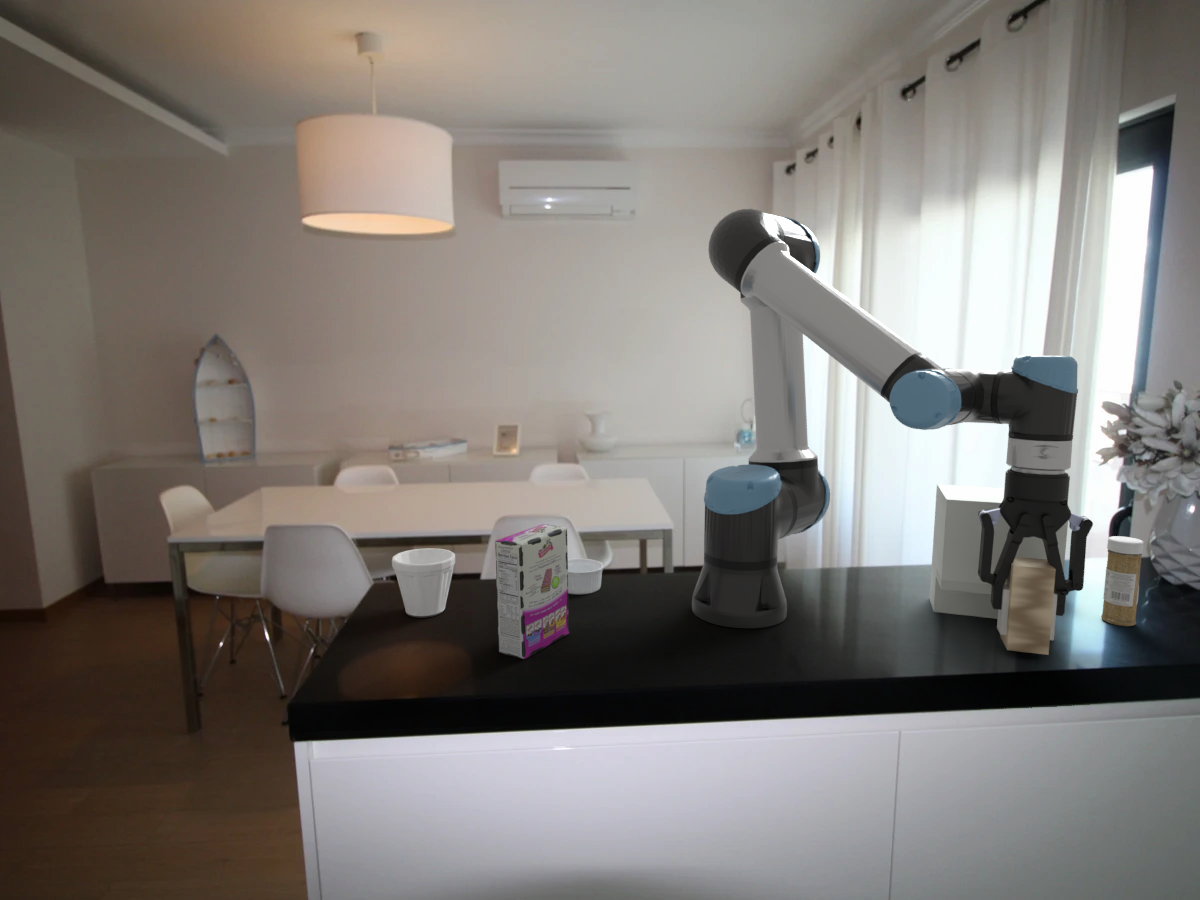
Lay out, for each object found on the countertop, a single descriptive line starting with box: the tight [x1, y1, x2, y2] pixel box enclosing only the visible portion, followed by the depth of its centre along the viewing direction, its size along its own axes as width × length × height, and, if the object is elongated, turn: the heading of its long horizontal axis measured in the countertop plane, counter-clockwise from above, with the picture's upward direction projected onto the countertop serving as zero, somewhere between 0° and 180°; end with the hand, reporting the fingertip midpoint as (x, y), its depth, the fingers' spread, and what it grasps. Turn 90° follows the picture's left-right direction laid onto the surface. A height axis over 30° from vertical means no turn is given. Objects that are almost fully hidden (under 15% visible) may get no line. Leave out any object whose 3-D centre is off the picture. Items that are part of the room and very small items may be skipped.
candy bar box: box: [494, 523, 570, 660], centre depth 104 cm, size 11×5×16 cm, turn 148°
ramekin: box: [568, 557, 604, 595], centre depth 130 cm, size 9×9×4 cm
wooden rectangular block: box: [999, 557, 1056, 656], centre depth 106 cm, size 5×15×12 cm, turn 161°
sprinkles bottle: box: [1100, 535, 1145, 627], centre depth 113 cm, size 5×5×14 cm
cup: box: [391, 547, 456, 619], centre depth 117 cm, size 10×10×9 cm
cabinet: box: [929, 483, 1069, 620], centre depth 114 cm, size 16×14×20 cm
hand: (1024, 633), depth 101 cm, fingers closed on wooden rectangular block, 5 cm apart
